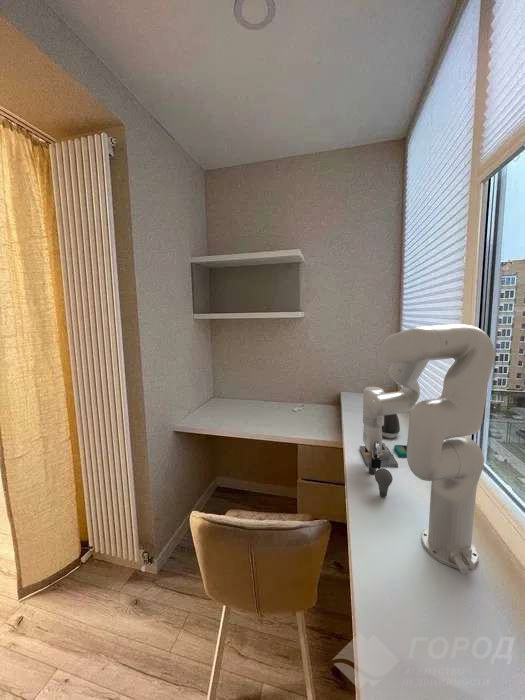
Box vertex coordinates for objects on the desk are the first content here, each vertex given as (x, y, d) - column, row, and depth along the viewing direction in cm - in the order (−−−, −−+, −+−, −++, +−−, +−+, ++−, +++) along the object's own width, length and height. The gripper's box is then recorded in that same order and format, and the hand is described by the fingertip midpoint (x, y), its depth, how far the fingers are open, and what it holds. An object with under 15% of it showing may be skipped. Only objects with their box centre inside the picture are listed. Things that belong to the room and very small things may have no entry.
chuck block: (398, 467, 112) (398, 456, 111) (367, 466, 114) (367, 455, 113) (385, 447, 128) (385, 436, 127) (358, 446, 130) (358, 436, 129)
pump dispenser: (404, 439, 135) (405, 409, 132) (384, 441, 133) (385, 411, 131) (391, 430, 145) (392, 402, 142) (373, 432, 143) (373, 404, 141)
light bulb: (392, 493, 97) (393, 467, 95) (391, 503, 92) (392, 476, 91) (375, 489, 99) (375, 463, 98) (373, 499, 95) (374, 472, 93)
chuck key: (364, 474, 108) (365, 452, 107) (363, 470, 111) (363, 449, 110) (383, 475, 108) (384, 453, 106) (381, 470, 110) (381, 449, 109)
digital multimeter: (436, 460, 117) (436, 453, 116) (398, 458, 119) (398, 452, 119) (428, 451, 124) (429, 445, 124) (393, 449, 126) (393, 443, 126)
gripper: (358, 410, 115) (357, 449, 118) (368, 429, 98) (368, 473, 101) (377, 411, 114) (376, 449, 117) (391, 429, 97) (389, 474, 100)
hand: (372, 460), depth 109 cm, fingers open, 9 cm apart
